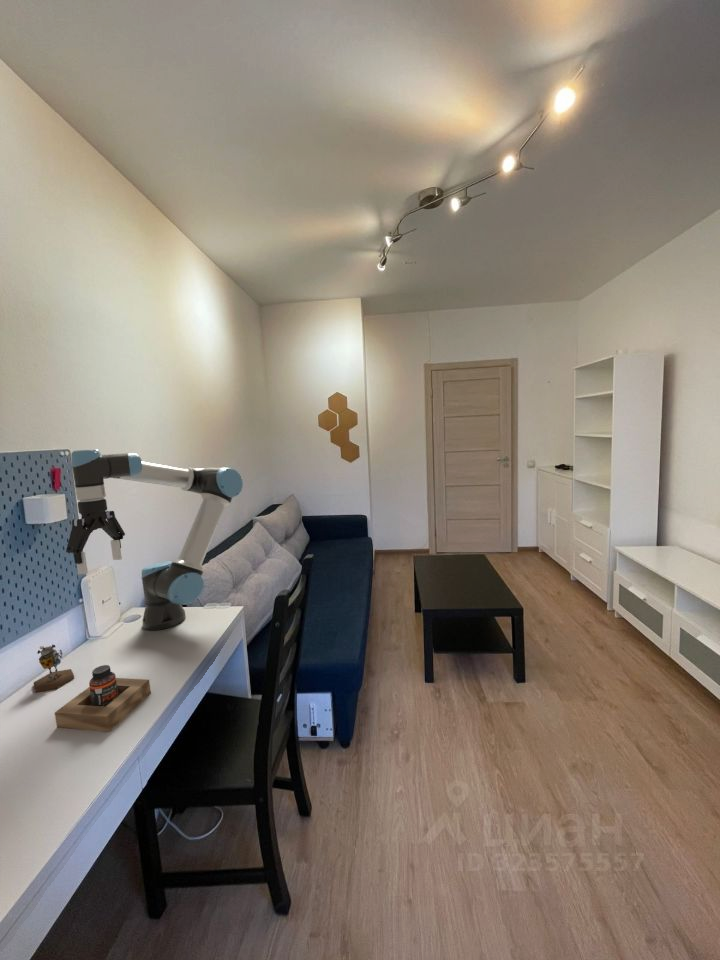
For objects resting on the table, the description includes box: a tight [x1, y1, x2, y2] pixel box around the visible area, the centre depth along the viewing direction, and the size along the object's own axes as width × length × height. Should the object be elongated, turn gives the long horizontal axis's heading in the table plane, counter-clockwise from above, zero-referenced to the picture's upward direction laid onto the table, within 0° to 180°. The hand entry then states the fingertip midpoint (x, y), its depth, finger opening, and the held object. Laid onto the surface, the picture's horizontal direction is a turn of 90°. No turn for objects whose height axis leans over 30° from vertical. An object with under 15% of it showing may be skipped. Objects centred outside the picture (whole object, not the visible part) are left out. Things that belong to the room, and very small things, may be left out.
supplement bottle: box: [88, 664, 118, 707], centre depth 108 cm, size 6×6×11 cm
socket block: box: [54, 677, 152, 733], centre depth 109 cm, size 15×15×4 cm
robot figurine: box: [33, 644, 75, 694], centre depth 123 cm, size 11×9×12 cm
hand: (101, 566), depth 130 cm, fingers open, 13 cm apart
